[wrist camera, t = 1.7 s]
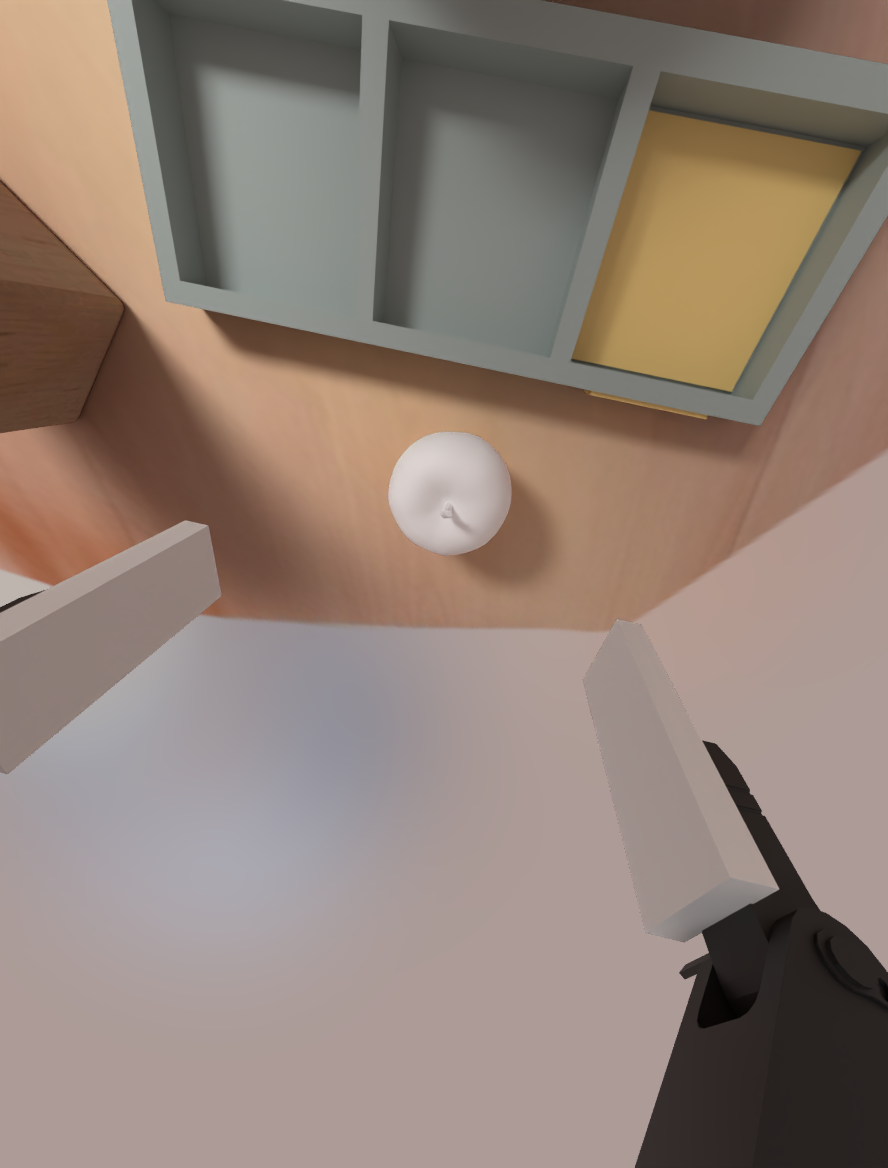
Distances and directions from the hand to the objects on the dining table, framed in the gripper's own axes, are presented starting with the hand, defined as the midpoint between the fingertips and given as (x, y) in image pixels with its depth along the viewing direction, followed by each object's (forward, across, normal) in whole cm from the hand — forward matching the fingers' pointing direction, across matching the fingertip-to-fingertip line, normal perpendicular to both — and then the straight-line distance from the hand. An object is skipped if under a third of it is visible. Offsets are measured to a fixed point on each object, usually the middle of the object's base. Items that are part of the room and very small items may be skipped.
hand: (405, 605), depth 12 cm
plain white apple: (+15, 0, 0) cm, 15 cm away
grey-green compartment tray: (+15, -1, +12) cm, 19 cm away
